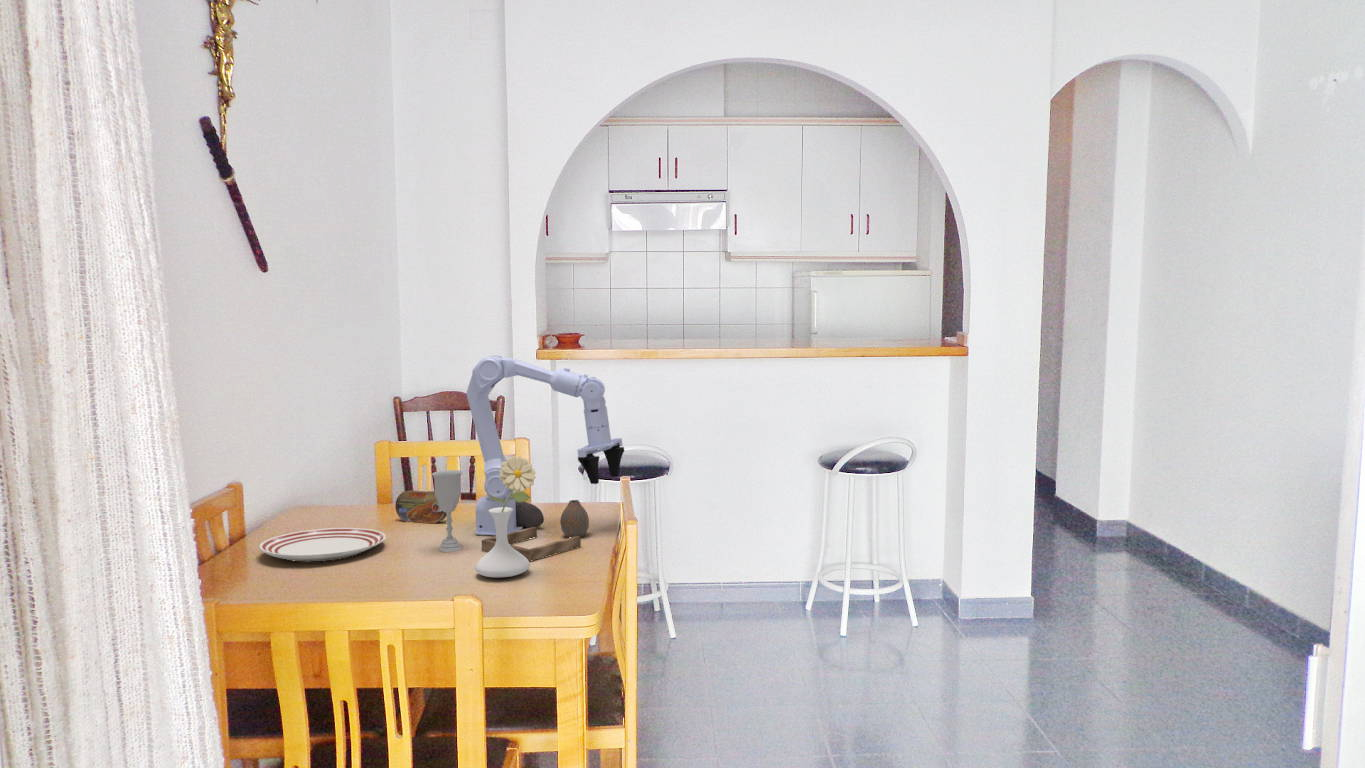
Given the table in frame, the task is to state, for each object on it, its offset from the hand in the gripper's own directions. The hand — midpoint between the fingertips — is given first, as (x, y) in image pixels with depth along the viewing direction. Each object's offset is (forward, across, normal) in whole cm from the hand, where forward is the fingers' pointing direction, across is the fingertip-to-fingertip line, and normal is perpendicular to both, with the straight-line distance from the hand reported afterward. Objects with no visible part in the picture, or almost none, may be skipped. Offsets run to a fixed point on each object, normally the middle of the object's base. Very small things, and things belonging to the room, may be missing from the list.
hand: (604, 480), depth 228 cm
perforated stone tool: (+10, -10, +22) cm, 27 cm away
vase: (+12, -10, +4) cm, 16 cm away
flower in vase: (+11, -41, -7) cm, 43 cm away
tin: (+8, -20, +48) cm, 53 cm away
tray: (+11, -24, +4) cm, 26 cm away
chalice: (+9, -34, +20) cm, 41 cm away
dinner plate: (+6, -52, +42) cm, 68 cm away
